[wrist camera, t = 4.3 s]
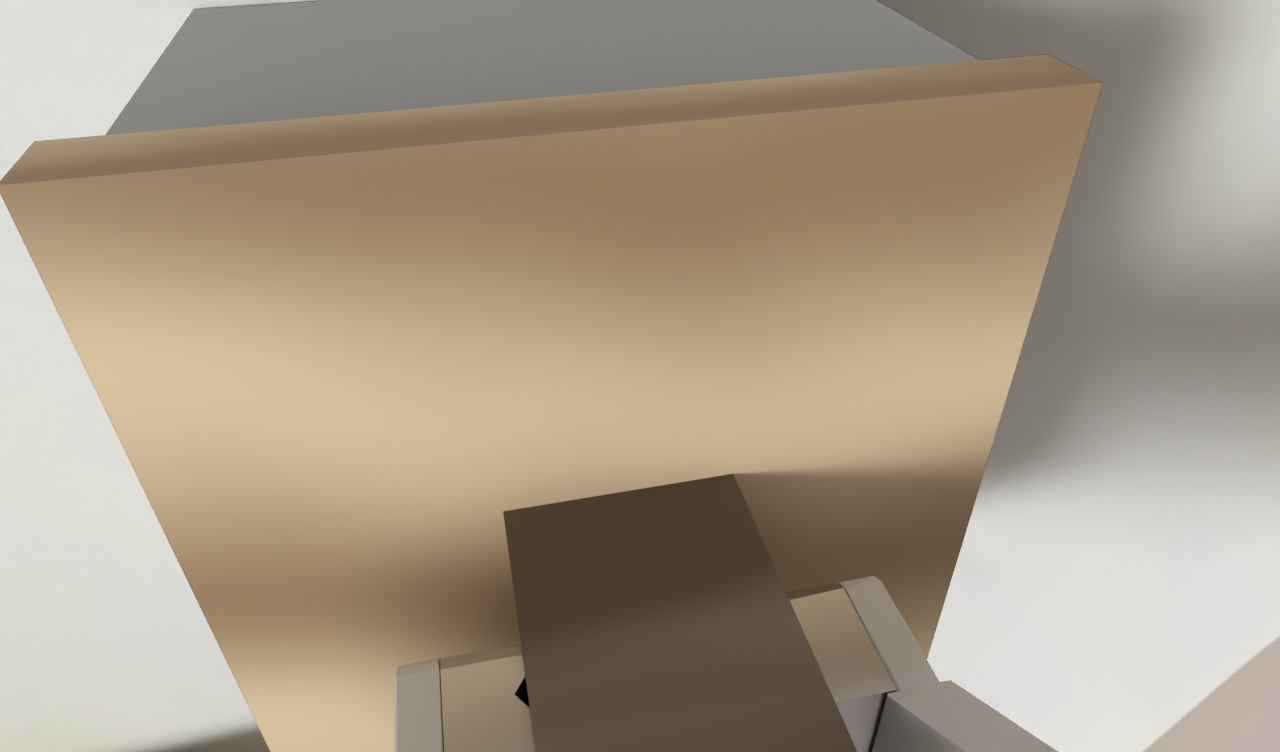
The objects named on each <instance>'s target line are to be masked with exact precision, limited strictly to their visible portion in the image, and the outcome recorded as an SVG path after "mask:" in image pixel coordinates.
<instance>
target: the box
mask: <svg viewBox="0 0 1280 752" xmlns="http://www.w3.org/2000/svg"><path fill="white" fill-rule="evenodd" d="M976 60H978V59H976V58H975V57H973V56H971V55H969V54H968V53H966V52H964V51H963V50H961V49H959V48H957V47H956V46H954V45H952V44H951V43H949V42H947V41H945V40H944V39H942V38H940V37H939V36H937V35H935V34H933V33H932V32H930V31H928V30H926V29H925V28H923V27H921V26H920V25H918V24H916V23H914V22H913V21H911V20H909V19H908V18H906V17H904V16H902V15H901V14H899V13H897V12H896V11H894V10H892V9H890V8H889V7H887V6H885V5H883V4H882V3H880V2H878V1H877V0H325V1H309V2H294V3H278V4H263V5H247V6H232V7H216V8H201V9H193V11H192V12H191V14H190V15H189V17H188V18H187V19H186V21H185V22H184V24H183V25H182V27H181V28H180V29H179V31H178V32H177V34H176V35H175V37H174V38H173V39H172V41H171V42H170V44H169V45H168V47H167V48H166V49H165V51H164V52H163V54H162V55H161V56H160V58H159V59H158V61H157V62H156V64H155V65H154V66H153V68H152V69H151V71H150V72H149V74H148V75H147V76H146V78H145V79H144V81H143V82H142V84H141V85H140V86H139V88H138V89H137V91H136V92H135V94H134V95H133V96H132V98H131V99H130V101H129V102H128V104H127V105H126V106H125V108H124V109H123V111H122V112H121V114H120V115H119V116H118V118H117V119H116V121H115V122H114V123H113V125H112V126H111V128H110V129H109V131H108V132H107V133H106V135H115V134H127V133H139V132H150V131H162V130H174V129H185V128H197V127H208V126H220V125H232V124H243V123H255V122H267V121H278V120H290V119H301V118H313V117H325V116H336V115H348V114H360V113H371V112H383V111H394V110H406V109H418V108H429V107H441V106H453V105H464V104H476V103H487V102H499V101H511V100H522V99H534V98H546V97H557V96H569V95H580V94H592V93H604V92H615V91H627V90H639V89H650V88H662V87H673V86H685V85H697V84H708V83H720V82H732V81H743V80H755V79H766V78H778V77H790V76H801V75H813V74H825V73H836V72H848V71H859V70H871V69H883V68H894V67H906V66H918V65H929V64H941V63H952V62H964V61H976Z"/></svg>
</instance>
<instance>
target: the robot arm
mask: <svg viewBox="0 0 1280 752" xmlns="http://www.w3.org/2000/svg"><path fill="white" fill-rule="evenodd" d="M786 593H787V596H788V598H789V600H790V602H791V605H792V607H793V609H794V611H795V613H796V616H797V618H798V620H799V622H800V625H801V627H802V629H803V631H804V634H805V636H806V638H807V640H808V642H809V645H810V647H811V649H812V651H813V654H814V656H815V658H816V660H817V663H818V665H819V667H820V669H821V672H822V674H823V676H824V678H825V680H826V683H827V685H828V687H829V689H830V692H831V694H832V696H833V698H834V701H835V703H836V705H837V707H838V709H839V712H840V714H841V716H842V718H843V721H844V723H845V725H846V727H847V730H848V732H849V734H850V736H851V739H852V741H853V743H854V745H855V747H856V750H857V752H1058V751H1056V750H1055V749H1053V748H1052V747H1050V746H1049V745H1047V744H1046V743H1044V742H1043V741H1041V740H1040V739H1038V738H1037V737H1035V736H1034V735H1032V734H1031V733H1029V732H1028V731H1026V730H1025V729H1023V728H1022V727H1020V726H1018V725H1017V724H1015V723H1014V722H1012V721H1011V720H1009V719H1008V718H1006V717H1005V716H1003V715H1002V714H1000V713H999V712H997V711H996V710H994V709H993V708H991V707H990V706H988V705H987V704H985V703H984V702H982V701H981V700H979V699H978V698H976V697H975V696H973V695H972V694H970V693H969V692H967V691H966V690H964V689H963V688H961V687H960V686H958V685H957V684H955V683H954V682H952V681H951V680H950V681H944V682H939V680H938V678H937V677H936V675H935V673H934V672H933V670H932V668H931V666H930V665H929V663H928V661H927V659H926V658H925V656H924V654H923V652H922V651H921V649H920V647H919V645H918V644H917V642H916V640H915V638H914V637H913V635H912V633H911V631H910V630H909V628H908V626H907V624H906V623H905V621H904V619H903V618H902V616H901V614H900V612H899V611H898V609H897V607H896V605H895V604H894V602H893V600H892V598H891V597H890V595H889V593H888V591H887V590H886V588H885V586H884V584H883V583H882V582H881V581H880V580H879V579H878V578H877V577H875V576H868V577H864V578H859V579H854V580H849V581H845V582H840V583H834V582H833V583H828V584H823V585H819V586H814V587H809V588H804V589H799V590H794V591H790V592H786ZM394 752H536V751H535V743H534V736H533V728H532V721H531V714H530V706H529V699H528V692H527V684H526V677H525V669H524V662H523V655H522V647H521V645H515V646H509V647H503V648H498V649H492V650H486V651H480V652H474V653H468V654H463V655H457V656H451V657H445V658H438V659H432V660H427V661H422V662H416V663H411V664H406V665H400V666H397V670H396V675H395V680H394Z"/></svg>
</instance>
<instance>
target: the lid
mask: <svg viewBox="0 0 1280 752" xmlns="http://www.w3.org/2000/svg"><path fill="white" fill-rule="evenodd" d="M1102 84H1103V82H1101V81H1099V80H1097V79H1095V78H1093V77H1091V76H1089V75H1087V74H1085V73H1083V72H1081V71H1079V70H1077V69H1075V68H1074V67H1072V66H1070V65H1068V64H1066V63H1064V62H1062V61H1060V60H1058V59H1056V58H1054V57H1052V56H1050V55H1048V54H1045V55H1034V56H1022V57H1011V58H999V59H987V60H976V61H964V62H952V63H941V64H929V65H918V66H906V67H894V68H883V69H871V70H859V71H848V72H836V73H825V74H813V75H801V76H790V77H778V78H766V79H755V80H743V81H732V82H720V83H708V84H697V85H685V86H673V87H662V88H650V89H639V90H627V91H615V92H604V93H592V94H580V95H569V96H557V97H546V98H534V99H522V100H511V101H499V102H487V103H476V104H464V105H453V106H441V107H429V108H418V109H406V110H394V111H383V112H371V113H360V114H348V115H336V116H325V117H313V118H301V119H290V120H278V121H267V122H255V123H243V124H232V125H220V126H208V127H197V128H185V129H174V130H162V131H150V132H139V133H127V134H115V135H104V136H92V137H81V138H69V139H57V140H46V141H34V142H33V144H32V145H31V146H30V147H29V148H28V149H27V151H26V152H25V153H24V154H23V155H22V156H21V158H20V159H19V160H18V161H17V162H16V163H15V165H14V166H13V167H12V168H11V169H10V170H9V171H8V173H7V174H6V175H5V176H4V177H3V178H2V180H1V181H0V194H1V196H2V198H3V200H4V202H5V204H6V206H7V208H8V210H9V213H10V215H11V217H12V219H13V221H14V223H15V225H16V227H17V229H18V231H19V233H20V235H21V237H22V239H23V241H24V244H25V246H26V248H27V250H28V252H29V254H30V256H31V258H32V260H33V262H34V264H35V266H36V268H37V270H38V272H39V275H40V277H41V279H42V281H43V283H44V285H45V287H46V289H47V291H48V293H49V295H50V297H51V299H52V301H53V303H54V306H55V308H56V310H57V312H58V314H59V316H60V318H61V320H62V322H63V324H64V326H65V328H66V330H67V332H68V334H69V337H70V339H71V341H72V343H73V345H74V347H75V349H76V351H77V353H78V355H79V357H80V359H81V361H82V363H83V366H84V368H85V370H86V372H87V374H88V376H89V378H90V380H91V382H92V384H93V386H94V388H95V390H96V392H97V394H98V397H99V399H100V401H101V403H102V405H103V407H104V409H105V411H106V413H107V415H108V417H109V419H110V421H111V423H112V425H113V428H114V430H115V432H116V434H117V436H118V438H119V440H120V442H121V444H122V446H123V448H124V450H125V452H126V454H127V456H128V459H129V461H130V463H131V465H132V467H133V469H134V471H135V473H136V475H137V477H138V479H139V481H140V483H141V485H142V487H143V490H144V492H145V494H146V496H147V498H148V500H149V502H150V504H151V506H152V508H153V510H154V512H155V514H156V516H157V518H158V521H159V523H160V525H161V527H162V529H163V531H164V533H165V535H166V537H167V539H168V541H169V543H170V545H171V547H172V549H173V552H174V554H175V556H176V558H177V560H178V562H179V564H180V566H181V568H182V570H183V572H184V574H185V576H186V578H187V580H188V583H189V585H190V587H191V589H192V591H193V593H194V595H195V597H196V599H197V601H198V603H199V605H200V607H201V609H202V611H203V614H204V616H205V618H206V620H207V622H208V624H209V626H210V628H211V630H212V632H213V634H214V636H215V638H216V640H217V642H218V645H219V647H220V649H221V651H222V653H223V655H224V657H225V659H226V661H227V663H228V665H229V667H230V669H231V671H232V673H233V676H234V678H235V680H236V682H237V684H238V686H239V688H240V690H241V692H242V694H243V696H244V698H245V700H246V702H247V704H248V707H249V709H250V711H251V713H252V715H253V717H254V719H255V721H256V723H257V725H258V727H259V729H260V731H261V733H262V736H263V738H264V740H265V742H266V744H267V746H268V748H269V750H270V752H394V680H395V675H396V670H397V666H400V665H406V664H411V663H416V662H422V661H427V660H432V659H438V658H445V657H451V656H457V655H463V654H468V653H474V652H480V651H486V650H492V649H498V648H503V647H509V646H515V645H521V647H522V655H523V662H524V669H525V677H526V684H527V692H528V699H529V706H530V714H531V721H532V728H533V736H534V743H535V751H536V752H857V750H856V747H855V745H854V743H853V741H852V739H851V736H850V734H849V732H848V730H847V727H846V725H845V723H844V721H843V718H842V716H841V714H840V712H839V709H838V707H837V705H836V703H835V701H834V698H833V696H832V694H831V692H830V689H829V687H828V685H827V683H826V680H825V678H824V676H823V674H822V672H821V669H820V667H819V665H818V663H817V660H816V658H815V656H814V654H813V651H812V649H811V647H810V645H809V642H808V640H807V638H806V636H805V634H804V631H803V629H802V627H801V625H800V622H799V620H798V618H797V616H796V613H795V611H794V609H793V607H792V605H791V602H790V600H789V598H788V596H787V593H786V592H790V591H794V590H799V589H804V588H809V587H814V586H819V585H823V584H828V583H833V582H834V583H840V582H845V581H849V580H854V579H859V578H864V577H868V576H875V577H877V578H878V579H879V580H880V581H881V582H882V583H883V584H884V586H885V588H886V590H887V591H888V593H889V595H890V597H891V598H892V600H893V602H894V604H895V605H896V607H897V609H898V611H899V612H900V614H901V616H902V618H903V619H904V621H905V623H906V624H907V626H908V628H909V630H910V631H911V633H912V635H913V637H914V638H915V640H916V642H917V644H918V645H919V647H920V649H921V651H922V652H923V654H924V656H925V658H926V659H927V657H928V654H929V650H930V647H931V644H932V641H933V637H934V634H935V631H936V627H937V624H938V621H939V618H940V614H941V611H942V608H943V605H944V601H945V598H946V595H947V591H948V588H949V585H950V582H951V578H952V575H953V572H954V569H955V565H956V562H957V559H958V555H959V552H960V549H961V546H962V542H963V539H964V536H965V532H966V529H967V526H968V523H969V519H970V516H971V513H972V510H973V506H974V503H975V500H976V496H977V493H978V490H979V487H980V483H981V480H982V477H983V474H984V470H985V467H986V464H987V460H988V457H989V454H990V451H991V447H992V444H993V441H994V437H995V434H996V431H997V428H998V424H999V421H1000V418H1001V415H1002V411H1003V408H1004V405H1005V401H1006V398H1007V395H1008V392H1009V388H1010V385H1011V382H1012V379H1013V375H1014V372H1015V369H1016V365H1017V362H1018V359H1019V356H1020V352H1021V349H1022V346H1023V342H1024V339H1025V336H1026V333H1027V329H1028V326H1029V323H1030V320H1031V316H1032V313H1033V310H1034V306H1035V303H1036V300H1037V297H1038V293H1039V290H1040V287H1041V284H1042V280H1043V277H1044V274H1045V270H1046V267H1047V264H1048V261H1049V257H1050V254H1051V251H1052V247H1053V244H1054V241H1055V238H1056V234H1057V231H1058V228H1059V225H1060V221H1061V218H1062V215H1063V211H1064V208H1065V205H1066V202H1067V198H1068V195H1069V192H1070V189H1071V185H1072V182H1073V179H1074V175H1075V172H1076V169H1077V166H1078V162H1079V159H1080V156H1081V152H1082V149H1083V146H1084V143H1085V139H1086V136H1087V133H1088V130H1089V126H1090V123H1091V120H1092V116H1093V113H1094V110H1095V107H1096V103H1097V100H1098V97H1099V94H1100V90H1101V87H1102Z"/></svg>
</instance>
